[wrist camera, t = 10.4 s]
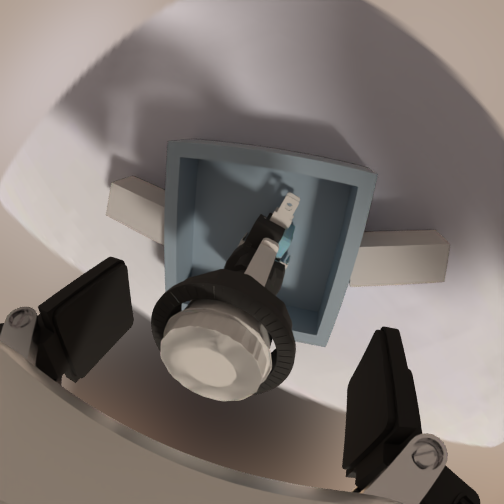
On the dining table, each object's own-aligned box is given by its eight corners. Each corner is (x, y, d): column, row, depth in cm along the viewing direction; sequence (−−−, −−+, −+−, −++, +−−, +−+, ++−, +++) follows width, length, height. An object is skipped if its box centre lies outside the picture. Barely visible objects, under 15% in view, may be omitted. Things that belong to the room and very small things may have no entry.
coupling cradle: (454, 194, 14) (477, 206, 11) (401, 331, 18) (410, 359, 15) (127, 136, 17) (98, 139, 14) (129, 269, 22) (107, 288, 19)
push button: (255, 171, 16) (168, 226, 7) (337, 216, 16) (354, 327, 7) (212, 261, 19) (129, 367, 10) (282, 300, 19) (246, 429, 10)
